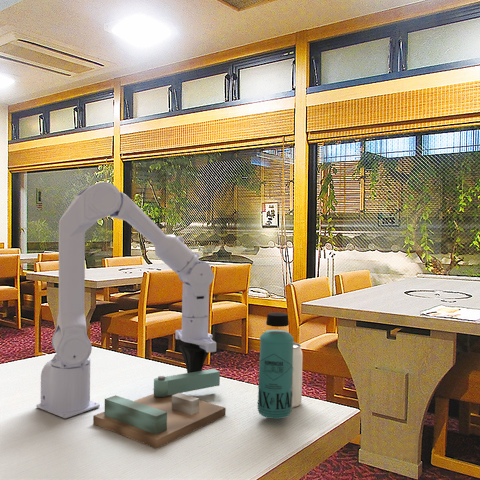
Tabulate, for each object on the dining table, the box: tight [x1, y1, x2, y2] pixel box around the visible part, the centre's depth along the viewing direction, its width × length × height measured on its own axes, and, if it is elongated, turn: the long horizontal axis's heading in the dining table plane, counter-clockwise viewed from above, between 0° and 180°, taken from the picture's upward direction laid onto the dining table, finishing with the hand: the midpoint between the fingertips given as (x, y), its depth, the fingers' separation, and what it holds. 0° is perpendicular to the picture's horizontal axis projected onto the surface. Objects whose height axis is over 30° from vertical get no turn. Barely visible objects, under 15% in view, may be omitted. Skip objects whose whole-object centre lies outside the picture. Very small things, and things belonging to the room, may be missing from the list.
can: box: [291, 341, 304, 409], centre depth 101 cm, size 6×6×12 cm
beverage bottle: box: [256, 312, 294, 419], centre depth 92 cm, size 6×7×20 cm
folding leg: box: [153, 368, 221, 397], centre depth 103 cm, size 14×3×4 cm, turn 124°
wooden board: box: [92, 393, 227, 450], centre depth 92 cm, size 16×18×4 cm
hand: (194, 378), depth 107 cm, fingers closed
